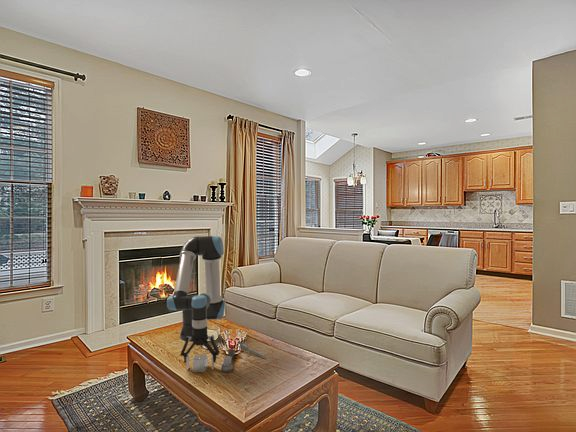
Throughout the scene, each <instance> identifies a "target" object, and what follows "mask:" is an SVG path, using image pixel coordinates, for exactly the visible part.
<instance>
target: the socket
mask: <svg viewBox="0 0 576 432" xmlns="http://www.w3.org/2000/svg"><path fill="white" fill-rule="evenodd" d="M193 357H194V358H192V372H193V373H195V372H196V373H197V372H199V373H200V372H201V373H202V372H206V371H207V368H208V367H209V366H208V364H209V363H208V354H195V355H194V356H193Z"/></svg>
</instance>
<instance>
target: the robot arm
mask: <svg viewBox="0 0 576 432" xmlns="http://www.w3.org/2000/svg"><path fill="white" fill-rule="evenodd" d="M224 253H225V250H224V241H223V239H222V238H221V236H217V235H216V236H215V235H211V236H205V235H204V236H193V237H191V238H189V239H188V240H186V242H185V243H184V244H183V246H182V247H181V249H180V252H179V258H180V260H179V265H178V270H177V275H176V279H175V280H176V281H175V285H174V289H173V295H169V296H168V298H167V299H166V307H167V309H168V310H169V311H175V312H176V311H182V312H181V313H182V326H181V330H180V333H179V338H180V339H181V340H182V341H185V343H184V345H183V347H182V349H181V352H180V354H179V355H180V356H181V357H183V362H184V363H185V365H186V367H185V368H186V369H185V370H186V371H189V368H190V355H189V353H190V352H191V351H192V349H193V348H194V346H204V347H205V348H206V349H207V350H208V351H209V353H210V354H211V370H214V368H215V363H216V362H217V356H219V355H220V349H219V347H218V345H217V343H216V341H215V336H214V335H211V336H210V335H208V321H212V320H215V321H217V320H222V319H223V318H224V316H225V309H226V300H224V298H223V297H222V295H221V283H220V279H221V278H220V260H221V259H222V256H223V255H224ZM197 256H202V257H201V259H202V260H203V261H204V268H205V269H204V270H205V272H204V273H205V293H204V292H203V293H201V294H199V295H198V294H195V295H189V288H190V283H191V278H192V271H193V267H194V261H195V260H196V258H197ZM208 340H209V341H210V343H209V341H208ZM190 341H192V344H191V345H190V346H189V348H188V349H187V346H188V345H189V343H190ZM186 349H187V350H186ZM185 351H186V352H185Z"/></svg>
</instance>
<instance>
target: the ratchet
mask: <svg viewBox="0 0 576 432" xmlns="http://www.w3.org/2000/svg"><path fill="white" fill-rule="evenodd" d="M235 355H236V349H235V350H230V349H229V350H228V354H227V355H226V356H224V357H223V363H222V364H221V372H222V373H224V374H227V373H229V374H230V373H232V372H233V370H234V364H233V361H234V358H235Z"/></svg>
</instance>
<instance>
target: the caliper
mask: <svg viewBox="0 0 576 432" xmlns="http://www.w3.org/2000/svg"><path fill="white" fill-rule="evenodd" d="M238 342H239V344H240V347H239V349H240V348H241V350H243V351H245V352H247V351H248V352H250V353H251V354H254V355H255V356H257V357H259V358H261V359H265V360H267V359H268V357H267V356H266V355H265V354H263V353H260V352H259V351H256V350H255V349H252V348H251V347H249V346H248V345H246V344H244V343H242V341H241V340H239V341H238Z"/></svg>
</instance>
